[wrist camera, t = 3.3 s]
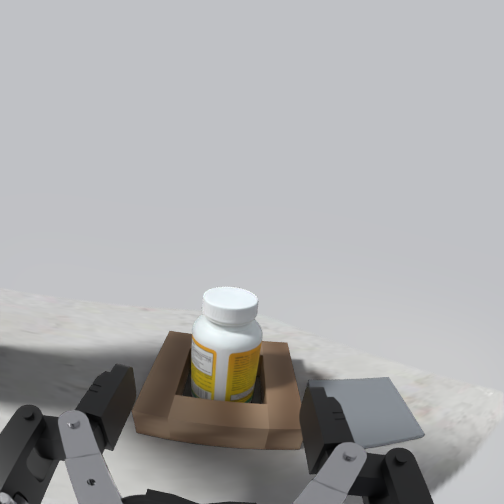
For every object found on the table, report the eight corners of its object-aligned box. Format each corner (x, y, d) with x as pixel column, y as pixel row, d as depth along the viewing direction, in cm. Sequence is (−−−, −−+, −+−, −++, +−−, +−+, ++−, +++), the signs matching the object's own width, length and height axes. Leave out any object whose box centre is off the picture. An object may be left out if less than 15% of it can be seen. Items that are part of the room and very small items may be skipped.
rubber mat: (326, 452, 17) (327, 449, 17) (307, 382, 26) (308, 379, 26) (422, 436, 17) (424, 433, 17) (387, 379, 26) (388, 376, 26)
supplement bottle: (185, 410, 20) (184, 306, 18) (198, 373, 26) (201, 279, 23) (251, 420, 20) (267, 316, 18) (254, 381, 25) (267, 287, 23)
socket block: (136, 432, 17) (131, 410, 16) (170, 350, 29) (169, 330, 28) (299, 449, 17) (306, 429, 17) (283, 362, 29) (287, 342, 28)
